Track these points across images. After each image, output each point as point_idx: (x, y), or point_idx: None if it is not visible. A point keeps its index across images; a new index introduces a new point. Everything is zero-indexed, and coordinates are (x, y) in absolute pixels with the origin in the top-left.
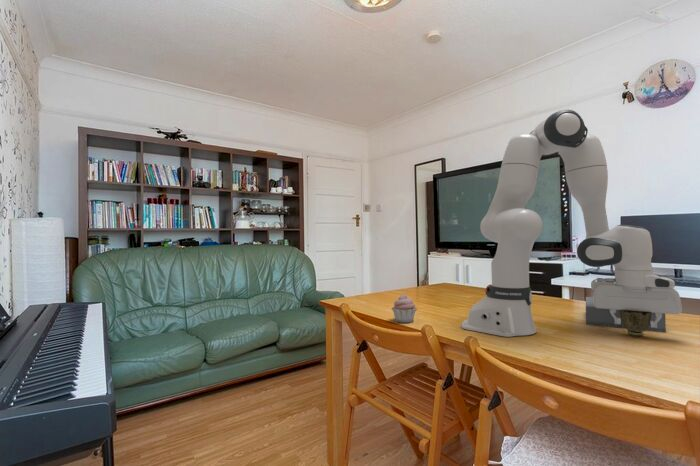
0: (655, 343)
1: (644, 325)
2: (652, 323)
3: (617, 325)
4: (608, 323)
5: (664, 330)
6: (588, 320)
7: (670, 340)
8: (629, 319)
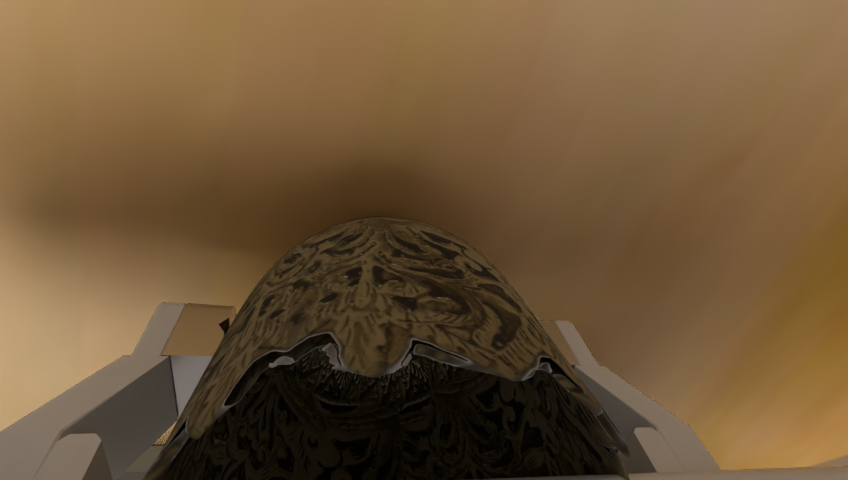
0: (240, 37)
1: (309, 249)
2: (196, 340)
3: None
4: None
5: None
6: None
7: (88, 226)
8: (502, 291)
